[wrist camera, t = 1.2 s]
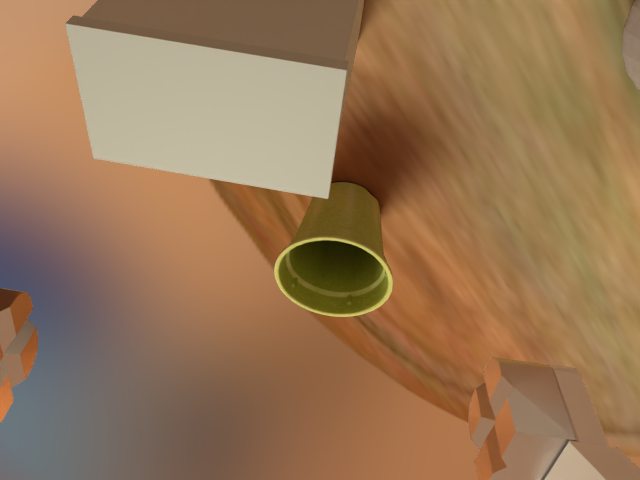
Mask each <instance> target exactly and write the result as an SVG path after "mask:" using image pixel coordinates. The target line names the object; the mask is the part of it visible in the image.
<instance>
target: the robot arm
mask: <svg viewBox="0 0 640 480" xmlns="http://www.w3.org/2000/svg"><path fill="white" fill-rule="evenodd" d="M32 309H33V307H32V303H31V299H30V295H29V294H27V293H25V292H20V291H15V290H9V289H3V288H0V424H1V421H2V420H3V418H4V417H5V415H6V413H7V411H8V410H9V408H10V406H11V404H12V402H13V401H14V399H13V395H12V391H11V388H12V387H14V386H16V385H17V384H19V383H21V382H22V381H24V380H26V378H27V376H28V374H29V372H30V370H31V368H32V366H33V363H34V360H35V357H36V353H37V348H38V335H37V328H36V327H35V325H33V324H32V322H30V321H29V320H28V319H27V317H28V316H29V314H30V313H31V311H32ZM483 373H484V378H485V383H483V384H482V385H480V386H478V387H476V389H475V391H474V394H473V396H472V399H471V402H470V408H469V431H470V437H471V440H472V441H473V442H474V444H475V445H476V446H477V447H478V448H479V449H480V451H479V453H478V455H477V458H476V460H475V466H476V472H477V477H478V480H640V468H639V467H638V466H637V465H636V464H635V463H633V462H632V461H631V460H630V459H629V458H628V457H627V456H626V455H625V454H624V453H623V452H622V451H621V450H620V449H619V448H618V447H612V446H609V444H608V442H607V439H606V437H605V434H604V432H603V429H602V426H601V424H600V421H599V419H598V416H597V414H596V411H595V409H594V406H593V404H592V401H591V398H590V396H589V393H588V391H587V388H586V386H585V383H584V381H583V378H582V375H581V373H580V372H579V371H578V370H577V369H576V368H571V367H563V366H556V365H545V364H540V363H532V362H525V361H517V360H509V359H502V358H494V357H492V358H491V359H490V360H489V361H488V362H487V365H486V367H485V369H484V371H483Z"/></svg>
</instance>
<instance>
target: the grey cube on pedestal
mask: <svg viewBox="0 0 640 480" xmlns="http://www.w3.org/2000/svg"><path fill="white" fill-rule="evenodd" d="M363 7H364V0H98V1H97V2H96V3H95V4H94V5H93V6H92V7H91V8H90V9H89V10H88V11H87V12H86V13H85V14H84V15H83V16H82V17H79V16H72V17H71V18H70V19H69V21H67V22H66V29H67V33H68V38H69V43H70V48H71V52H72V58H73V62H74V67H75V72H76V77H77V82H78V86H79V91H80V96H81V101H82V106H83V110H84V115H85V120H86V125H87V129H88V134H89V139H90V144H91V149H92V154H93V158H95V159H100V160H106V161H112V162H118V163H124V164H129V165H135V166H142V167H147V168H152V169H158V170H164V171H169V172H175V173H181V174H187V175H193V176H198V177H204V178H210V179H216V180H221V181H227V182H233V183H239V184H244V185H250V186H256V187H262V188H268V189H273V190H279V191H285V192H291V193H296V194H302V195H308V196H314V197H319V198H325V199H328V197H329V192H330V187H331V180H332V173H333V166H334V160H335V153H336V146H337V139H338V132H339V127H340V123H341V118H342V113H343V109H344V104H345V100H346V95H347V90H348V86H349V81H350V76H351V72H352V67H353V63H354V58H355V53H356V49H357V44H358V39H359V32H360V26H361V20H362V13H363Z"/></svg>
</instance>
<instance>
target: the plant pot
mask: <svg viewBox="0 0 640 480" xmlns="http://www.w3.org/2000/svg"><path fill="white" fill-rule="evenodd" d="M274 271H275V278H276V281H277V283H278V286H279V287H280V289H281V291H282V292H283V293H284V294H285V295H286V296H287V297H288V298H289V299H290V300H292V301H293V302H294V303H296V304H298V305H299V306H301V307H303V308H305V309H307V310H310V311H313V312H316V313H319V314H323V315H329V316H337V317H348V316H356V315H361V314H365V313H367V312H370V311H373V310H375V309H376V308H378V307H380V306H381V305H382V304H383V303H384V302H385V301H386V300H387V299H388V298H389V296H390V294H391V292H392V288H393V276H392V272H391V270H390V267H389V265H388V264H387V261H386V258H385V256H384V252H383V242H382V231H381V218H380V207H379V203H378V201H377V199H376V198H374V197H373V196H372V195H371V194H370V193H369V192H368V191H367V190H366V189H365V188H364V187H362V186H360V185H357V184H353V183H348V182H336V183H331V187H330V192H329V197H328V199H325V198H319V197H314V196H313V199H312V201H311V203H310V205H309V207H308V210H307V212H306V214H305V216H304V218H303V221H302V223H301V225H300V227H299V230H298V232H297V234H296V236H295V238H294V239H293V240H292V241H291V243H290V244H289V245H288V246H287V247H286V248H285V249H284V250H283V251H282V252H281V253H280V255H279V256H278V258H277V261H276V263H275V269H274Z"/></svg>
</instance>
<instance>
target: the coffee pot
mask: <svg viewBox="0 0 640 480" xmlns="http://www.w3.org/2000/svg"><path fill="white" fill-rule="evenodd" d="M622 55H623V59H624V63H625V68H626V72H627V73H628V75H629V76H630V78H631V79H632V81H633V82H634V84H635V85H636V87H637V88H638V89H639V90H640V0H635V1H634V3H633V5H632V7H631V10H630V13H629V15H628V18H627V20H626V23H625V26H624V32H623V42H622Z"/></svg>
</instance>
